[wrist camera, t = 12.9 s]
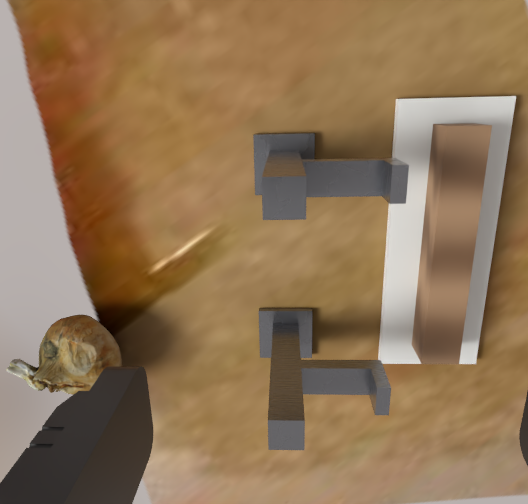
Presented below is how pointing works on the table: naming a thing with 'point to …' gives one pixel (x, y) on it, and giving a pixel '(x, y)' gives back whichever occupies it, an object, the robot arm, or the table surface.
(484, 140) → the rail
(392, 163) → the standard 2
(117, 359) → the onion
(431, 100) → the mat
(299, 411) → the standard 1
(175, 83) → the table surface
